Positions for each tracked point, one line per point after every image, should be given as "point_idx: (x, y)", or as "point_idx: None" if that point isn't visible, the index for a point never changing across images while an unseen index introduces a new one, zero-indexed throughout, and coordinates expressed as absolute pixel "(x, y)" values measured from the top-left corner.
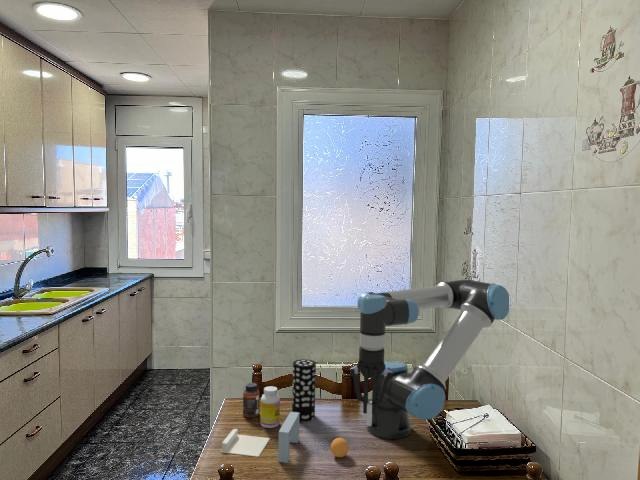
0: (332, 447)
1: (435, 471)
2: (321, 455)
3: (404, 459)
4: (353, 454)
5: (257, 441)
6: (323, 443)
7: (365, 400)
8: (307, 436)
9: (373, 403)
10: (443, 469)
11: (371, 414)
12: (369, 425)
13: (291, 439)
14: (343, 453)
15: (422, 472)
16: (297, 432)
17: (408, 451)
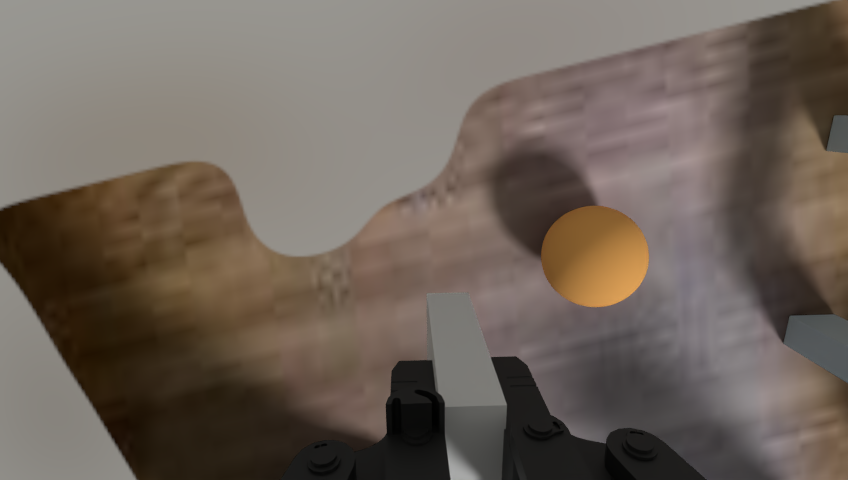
0: (638, 227)
1: (78, 216)
2: (665, 229)
3: (249, 292)
4: (506, 277)
5: None
6: (661, 342)
7: (543, 442)
8: (742, 386)
9: (420, 407)
10: (41, 245)
11: (434, 343)
12: (441, 294)
13: (832, 320)
14: (566, 213)
15: (142, 190)
16: (839, 340)
17: (239, 370)
